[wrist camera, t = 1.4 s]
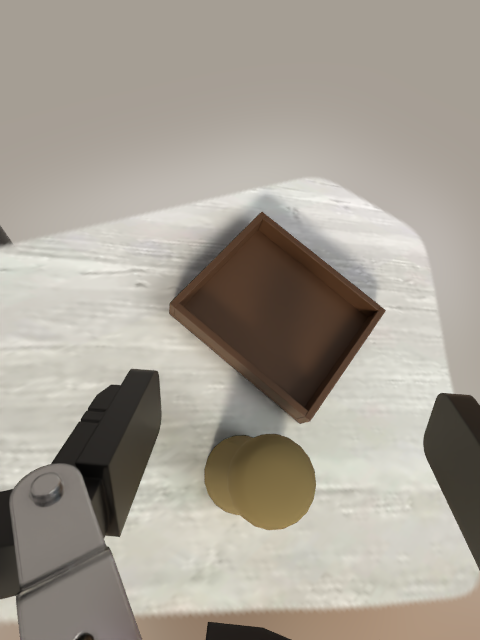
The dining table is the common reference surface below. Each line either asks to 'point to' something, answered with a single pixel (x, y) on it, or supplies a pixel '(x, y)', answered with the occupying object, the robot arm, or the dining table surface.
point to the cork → (261, 479)
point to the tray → (278, 316)
